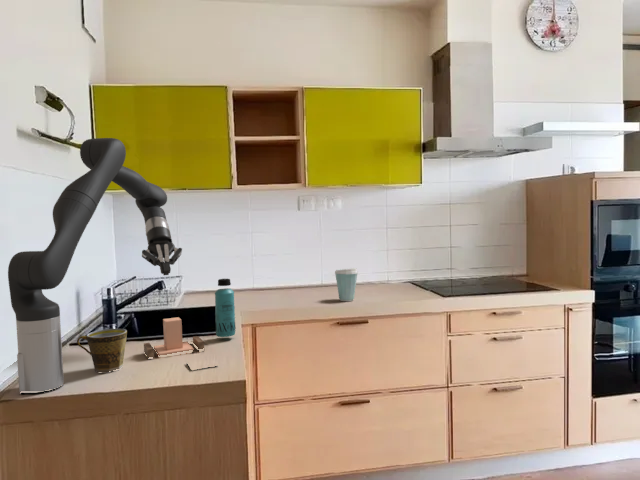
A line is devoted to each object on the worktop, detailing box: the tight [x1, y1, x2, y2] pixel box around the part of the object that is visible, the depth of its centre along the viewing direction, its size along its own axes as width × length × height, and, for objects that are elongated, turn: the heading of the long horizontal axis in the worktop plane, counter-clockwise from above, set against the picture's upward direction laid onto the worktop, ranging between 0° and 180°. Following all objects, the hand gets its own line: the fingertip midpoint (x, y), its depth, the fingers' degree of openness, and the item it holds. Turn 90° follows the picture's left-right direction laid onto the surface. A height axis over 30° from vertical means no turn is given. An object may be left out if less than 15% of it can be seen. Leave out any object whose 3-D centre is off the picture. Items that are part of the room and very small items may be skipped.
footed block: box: [153, 316, 195, 356], centre depth 150 cm, size 10×10×10 cm
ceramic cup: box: [76, 328, 128, 373], centre depth 134 cm, size 13×10×10 cm
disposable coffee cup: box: [334, 267, 359, 302], centre depth 230 cm, size 11×11×15 cm
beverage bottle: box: [214, 278, 237, 338], centre depth 163 cm, size 6×7×20 cm
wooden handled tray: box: [143, 335, 205, 358], centre depth 149 cm, size 16×8×3 cm, turn 117°
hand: (166, 273), depth 154 cm, fingers closed
